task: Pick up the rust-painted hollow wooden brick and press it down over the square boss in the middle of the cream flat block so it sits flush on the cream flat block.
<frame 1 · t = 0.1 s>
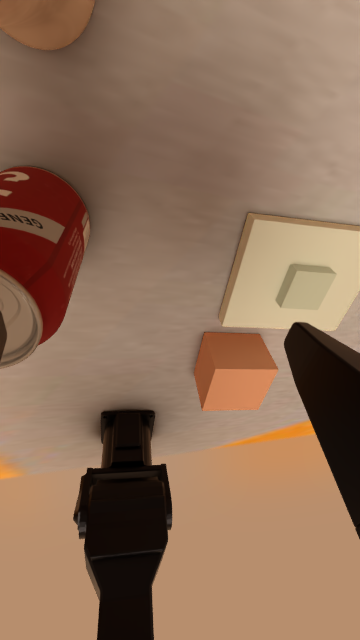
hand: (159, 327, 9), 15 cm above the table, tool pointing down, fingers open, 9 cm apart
cream flat block: (293, 275, 26), on the table
brick: (225, 354, 31), on the table
soda can: (42, 216, 20), on the table
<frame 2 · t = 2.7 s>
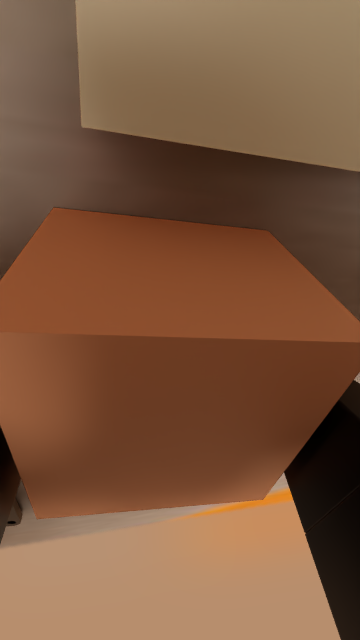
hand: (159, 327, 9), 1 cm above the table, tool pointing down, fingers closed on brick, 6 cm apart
brick: (157, 307, 10), on the table, touching gripper
when the fingers open (3 cm above the table, at t = 6.0 s): brick stays where it is, resting on cream flat block.
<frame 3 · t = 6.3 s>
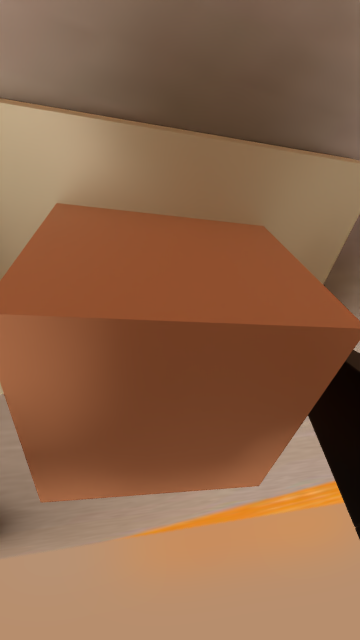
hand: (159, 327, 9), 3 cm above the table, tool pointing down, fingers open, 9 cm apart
cream flat block: (154, 279, 11), on the table
brick: (156, 301, 10), point 1 cm above the table, touching cream flat block
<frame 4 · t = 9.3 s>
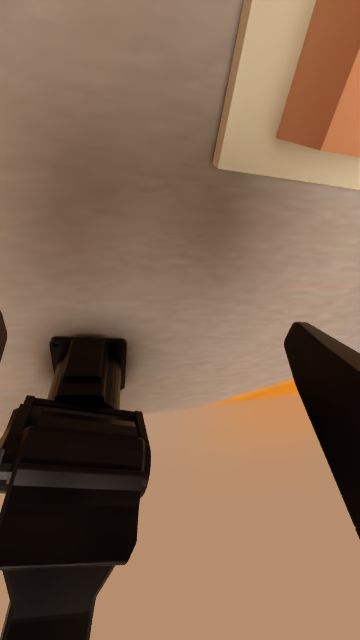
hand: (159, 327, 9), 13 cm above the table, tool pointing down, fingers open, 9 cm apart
cream flat block: (331, 81, 16), on the table
brick: (347, 81, 15), point 1 cm above the table, touching cream flat block
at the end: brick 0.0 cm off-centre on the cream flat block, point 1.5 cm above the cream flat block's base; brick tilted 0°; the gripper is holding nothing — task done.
